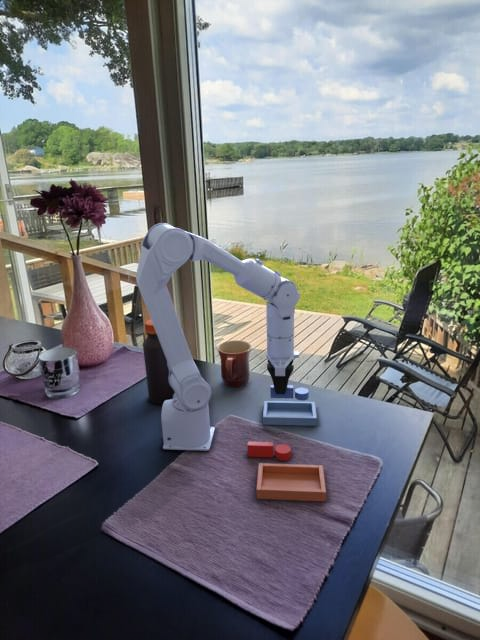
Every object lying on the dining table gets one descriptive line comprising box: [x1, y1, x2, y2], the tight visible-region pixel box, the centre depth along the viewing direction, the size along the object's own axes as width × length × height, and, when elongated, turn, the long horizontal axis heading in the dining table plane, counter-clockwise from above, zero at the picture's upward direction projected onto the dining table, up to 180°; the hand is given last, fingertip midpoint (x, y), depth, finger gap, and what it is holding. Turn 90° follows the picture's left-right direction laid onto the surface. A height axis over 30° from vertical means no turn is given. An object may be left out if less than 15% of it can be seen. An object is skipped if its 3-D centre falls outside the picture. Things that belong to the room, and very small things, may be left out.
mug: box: [216, 340, 252, 389], centre depth 112 cm, size 12×9×10 cm
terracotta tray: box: [255, 462, 327, 502], centre depth 77 cm, size 12×7×2 cm, turn 85°
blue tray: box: [262, 400, 318, 427], centre depth 99 cm, size 12×7×2 cm, turn 85°
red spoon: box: [246, 441, 292, 461], centre depth 85 cm, size 8×3×3 cm, turn 85°
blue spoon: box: [269, 384, 310, 402], centre depth 97 cm, size 8×3×3 cm, turn 84°
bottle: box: [142, 319, 175, 405], centre depth 106 cm, size 7×7×20 cm
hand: (280, 391), depth 97 cm, fingers closed on blue spoon
